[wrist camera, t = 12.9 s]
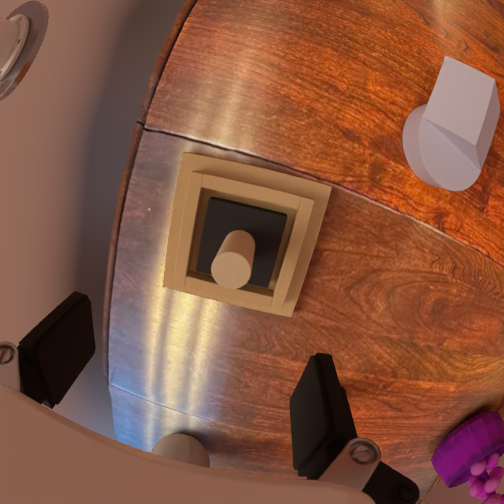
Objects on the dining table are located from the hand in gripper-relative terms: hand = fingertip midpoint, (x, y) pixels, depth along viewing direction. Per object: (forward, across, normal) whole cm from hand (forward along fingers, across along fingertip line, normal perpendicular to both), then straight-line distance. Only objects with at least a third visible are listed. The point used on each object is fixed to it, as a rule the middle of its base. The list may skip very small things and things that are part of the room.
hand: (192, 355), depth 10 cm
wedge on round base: (+18, -19, -17) cm, 31 cm away
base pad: (+18, -1, 0) cm, 18 cm away
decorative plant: (+17, -58, +31) cm, 68 cm away
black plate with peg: (+17, -1, 0) cm, 17 cm away
